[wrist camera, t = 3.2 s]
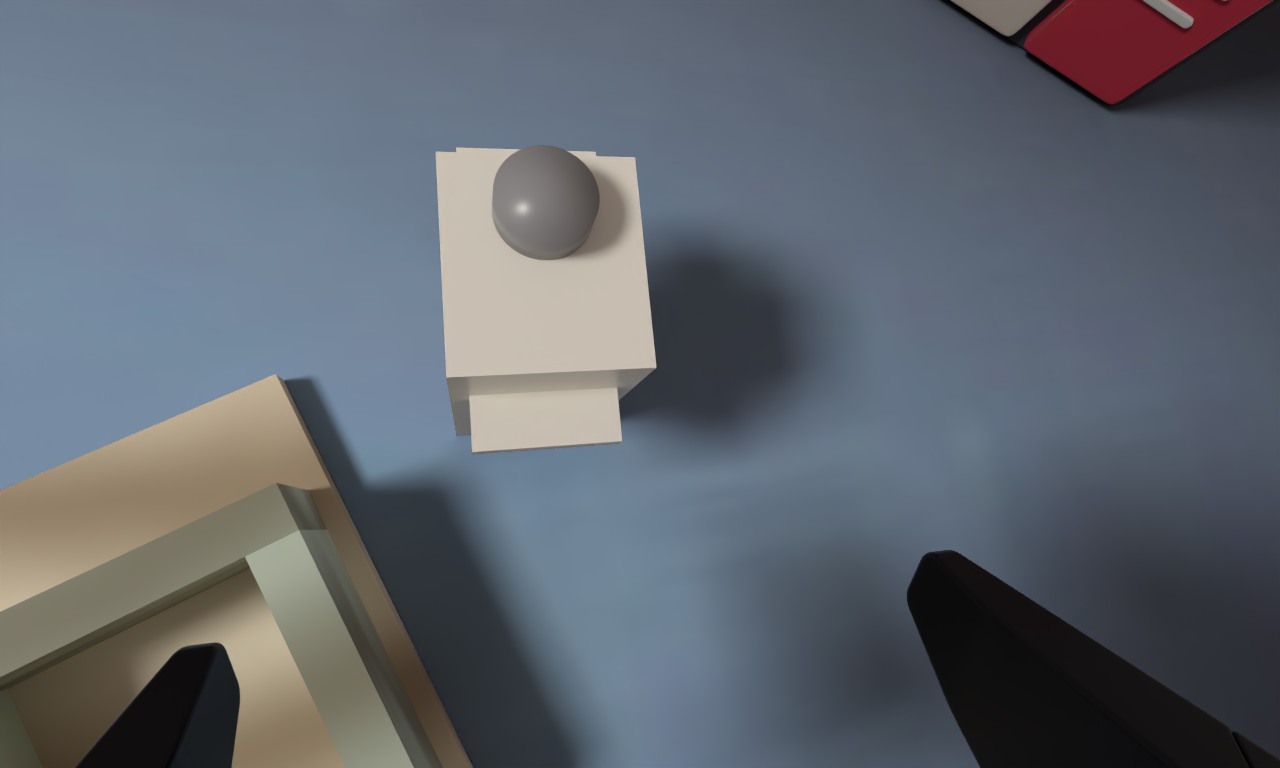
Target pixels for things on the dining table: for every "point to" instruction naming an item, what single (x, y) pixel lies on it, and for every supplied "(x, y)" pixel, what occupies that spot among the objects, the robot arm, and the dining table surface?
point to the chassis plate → (207, 597)
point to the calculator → (1115, 36)
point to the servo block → (541, 295)
